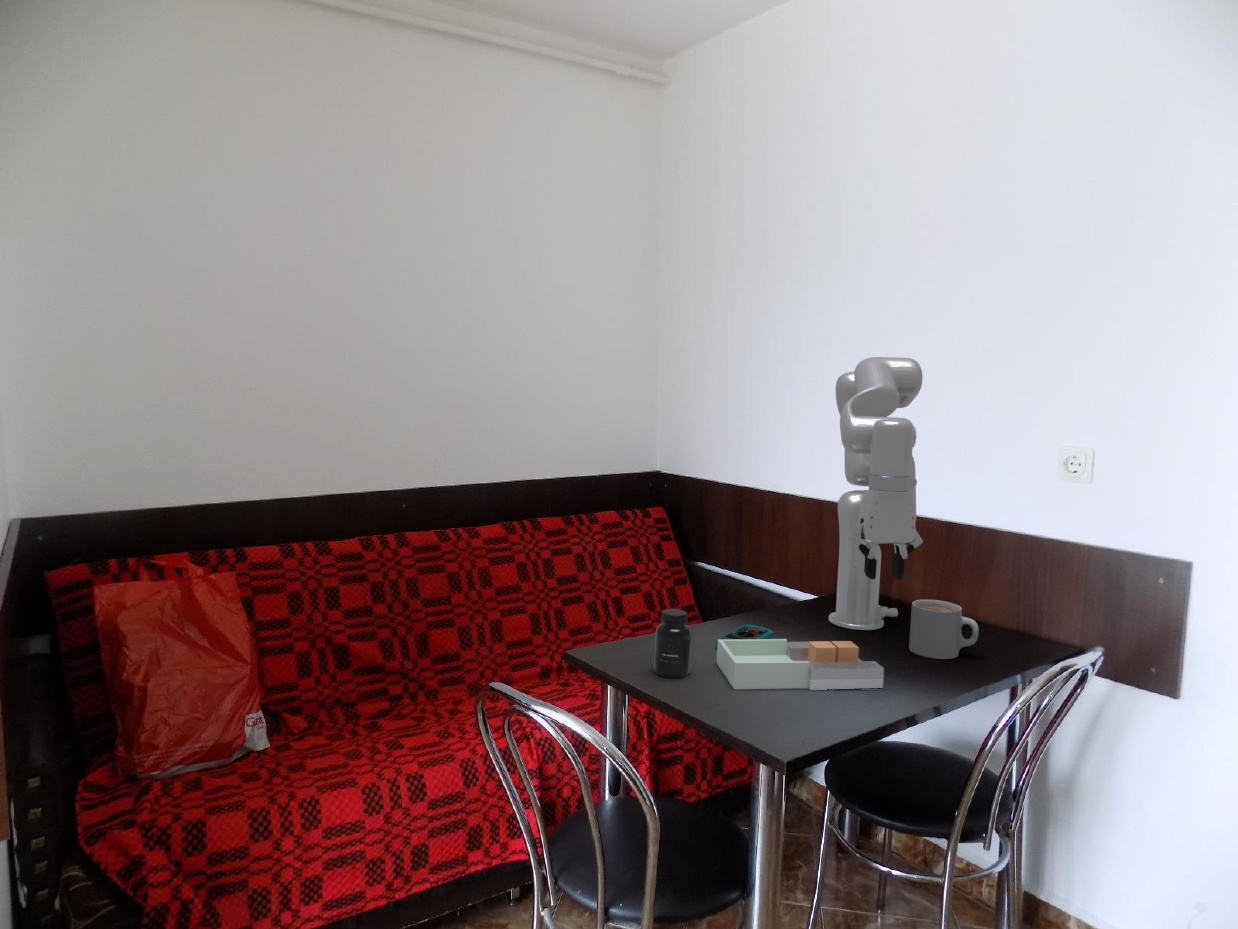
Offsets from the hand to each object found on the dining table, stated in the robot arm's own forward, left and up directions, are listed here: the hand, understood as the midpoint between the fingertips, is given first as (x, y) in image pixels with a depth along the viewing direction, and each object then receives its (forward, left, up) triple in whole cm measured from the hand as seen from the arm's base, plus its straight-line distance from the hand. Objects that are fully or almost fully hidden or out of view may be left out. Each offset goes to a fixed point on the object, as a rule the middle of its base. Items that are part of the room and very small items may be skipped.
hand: (883, 576), depth 163 cm
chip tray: (+24, 0, -19) cm, 30 cm away
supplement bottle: (+40, -2, -20) cm, 45 cm away
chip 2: (+7, 0, -17) cm, 19 cm away
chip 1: (+12, 0, -17) cm, 21 cm away
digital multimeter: (+22, -19, -20) cm, 35 cm away
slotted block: (+10, 0, -19) cm, 22 cm away
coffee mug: (-20, -12, -20) cm, 30 cm away
